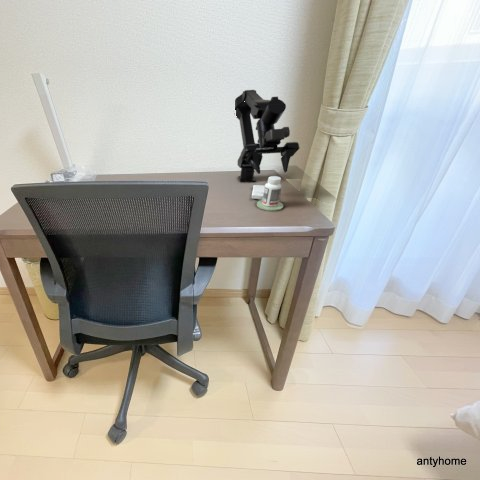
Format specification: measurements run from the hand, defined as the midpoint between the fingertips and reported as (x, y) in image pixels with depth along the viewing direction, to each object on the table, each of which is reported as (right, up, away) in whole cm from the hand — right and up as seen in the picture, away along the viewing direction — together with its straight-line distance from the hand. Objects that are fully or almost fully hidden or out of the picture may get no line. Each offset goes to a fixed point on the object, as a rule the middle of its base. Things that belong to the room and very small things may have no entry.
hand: (272, 172), depth 89 cm
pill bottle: (+1, -11, +4) cm, 11 cm away
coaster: (+1, -11, +4) cm, 12 cm away
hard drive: (+2, -5, +12) cm, 14 cm away
